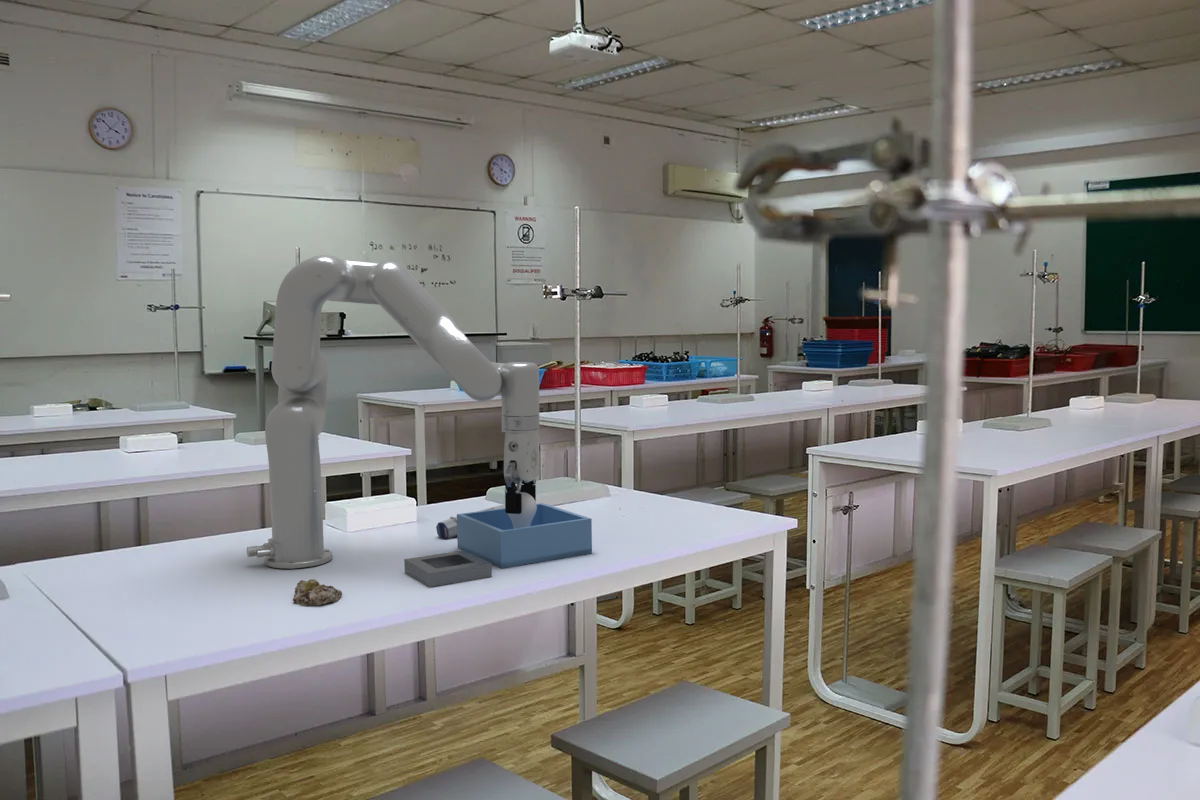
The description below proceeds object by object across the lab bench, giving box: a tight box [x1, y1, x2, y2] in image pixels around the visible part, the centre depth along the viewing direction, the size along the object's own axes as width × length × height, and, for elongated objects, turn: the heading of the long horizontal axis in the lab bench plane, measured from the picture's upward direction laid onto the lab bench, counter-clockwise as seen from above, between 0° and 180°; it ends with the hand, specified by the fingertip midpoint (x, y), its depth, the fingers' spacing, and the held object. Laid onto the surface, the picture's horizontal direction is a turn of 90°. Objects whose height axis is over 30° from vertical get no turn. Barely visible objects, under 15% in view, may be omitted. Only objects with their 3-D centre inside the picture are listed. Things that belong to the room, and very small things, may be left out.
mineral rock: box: [292, 578, 343, 607], centre depth 161 cm, size 11×4×8 cm
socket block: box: [404, 549, 493, 588], centre depth 175 cm, size 12×12×2 cm
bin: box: [456, 502, 593, 569], centre depth 192 cm, size 20×20×7 cm
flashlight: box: [435, 503, 505, 540], centre depth 212 cm, size 5×7×25 cm
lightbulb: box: [507, 492, 537, 529], centre depth 191 cm, size 6×6×11 cm
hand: (520, 508), depth 192 cm, fingers open, 9 cm apart
